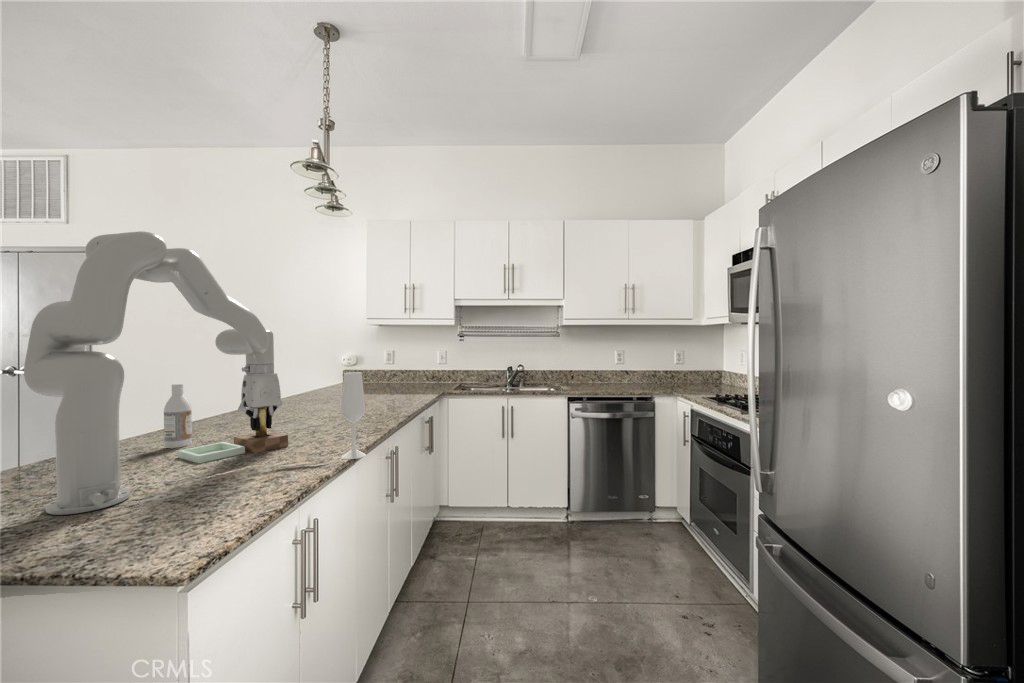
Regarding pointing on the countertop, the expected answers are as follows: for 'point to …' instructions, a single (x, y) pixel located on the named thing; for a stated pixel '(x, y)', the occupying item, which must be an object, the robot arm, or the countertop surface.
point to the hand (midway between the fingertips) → (261, 428)
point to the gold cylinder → (262, 422)
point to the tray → (211, 452)
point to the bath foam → (177, 419)
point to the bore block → (262, 442)
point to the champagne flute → (353, 407)
